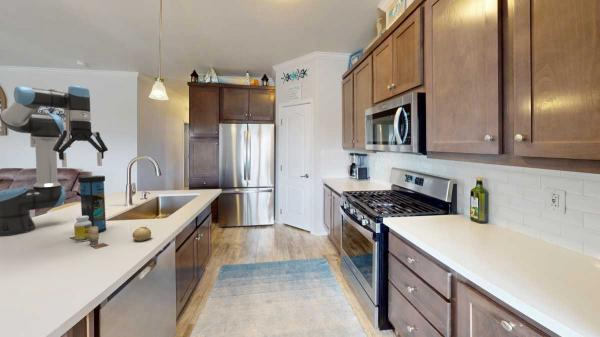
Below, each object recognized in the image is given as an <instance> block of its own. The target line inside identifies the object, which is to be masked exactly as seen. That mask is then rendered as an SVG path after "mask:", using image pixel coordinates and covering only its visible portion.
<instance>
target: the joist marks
mask: <svg viewBox="0 0 600 337" xmlns="http://www.w3.org/2000/svg"><path fill="white" fill-rule="evenodd" d="M69 239H70V240H71V239H72V240H73V241H75V235H74V236H70V237H69ZM107 246H109V244H108V243H105V242H100V243H98V244H96V245H90V247H91V248H93V249H95V250H97V249H100V248H103V247H107Z"/></svg>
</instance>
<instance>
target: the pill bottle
mask: <svg viewBox="0 0 600 337" xmlns="http://www.w3.org/2000/svg"><path fill="white" fill-rule="evenodd" d="M75 219H76V222H74V225H73V226H74V228H73V230H74V236H75V240H74V241H75V242H79V243H80V242H81V243H82V242H86V241H89V229H88V228H89V227H91V221H88V219H89V216H82V215H80V216H76V218H75Z"/></svg>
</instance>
